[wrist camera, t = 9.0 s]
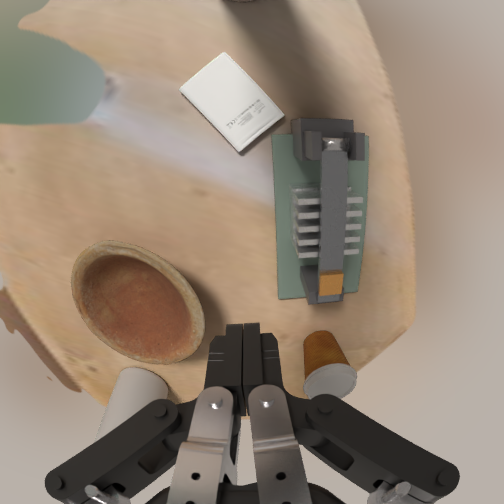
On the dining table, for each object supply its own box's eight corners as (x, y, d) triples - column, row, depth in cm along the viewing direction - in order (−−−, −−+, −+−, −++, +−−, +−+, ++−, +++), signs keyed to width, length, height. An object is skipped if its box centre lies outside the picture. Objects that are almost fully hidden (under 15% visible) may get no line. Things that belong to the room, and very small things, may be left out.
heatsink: (288, 182, 38) (298, 196, 31) (341, 181, 38) (363, 195, 30) (289, 235, 41) (298, 260, 34) (339, 232, 41) (358, 255, 34)
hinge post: (290, 120, 34) (307, 116, 24) (335, 120, 34) (366, 119, 24) (292, 155, 36) (309, 165, 26) (336, 154, 36) (367, 165, 26)
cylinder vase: (141, 359, 53) (108, 457, 31) (179, 390, 58) (162, 482, 35) (111, 373, 56) (79, 456, 34) (147, 400, 61) (126, 481, 38)
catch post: (299, 263, 44) (309, 292, 36) (329, 261, 44) (344, 289, 36) (298, 274, 44) (308, 304, 37) (328, 272, 44) (342, 300, 37)
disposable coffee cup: (285, 349, 52) (292, 397, 41) (316, 317, 48) (331, 365, 38) (320, 363, 54) (332, 408, 43) (351, 334, 51) (369, 378, 40)
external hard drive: (225, 54, 30) (283, 115, 34) (180, 91, 33) (238, 151, 37) (224, 51, 29) (285, 114, 33) (177, 89, 31) (238, 152, 35)
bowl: (96, 204, 39) (70, 220, 31) (231, 256, 43) (228, 283, 36) (84, 310, 48) (67, 335, 41) (189, 352, 52) (183, 382, 45)
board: (271, 134, 35) (271, 134, 34) (366, 135, 35) (368, 136, 34) (278, 296, 46) (278, 299, 46) (356, 289, 46) (357, 291, 45)
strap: (315, 137, 28) (319, 137, 26) (346, 137, 28) (351, 138, 26) (313, 297, 37) (316, 305, 35) (338, 295, 37) (342, 302, 35)
